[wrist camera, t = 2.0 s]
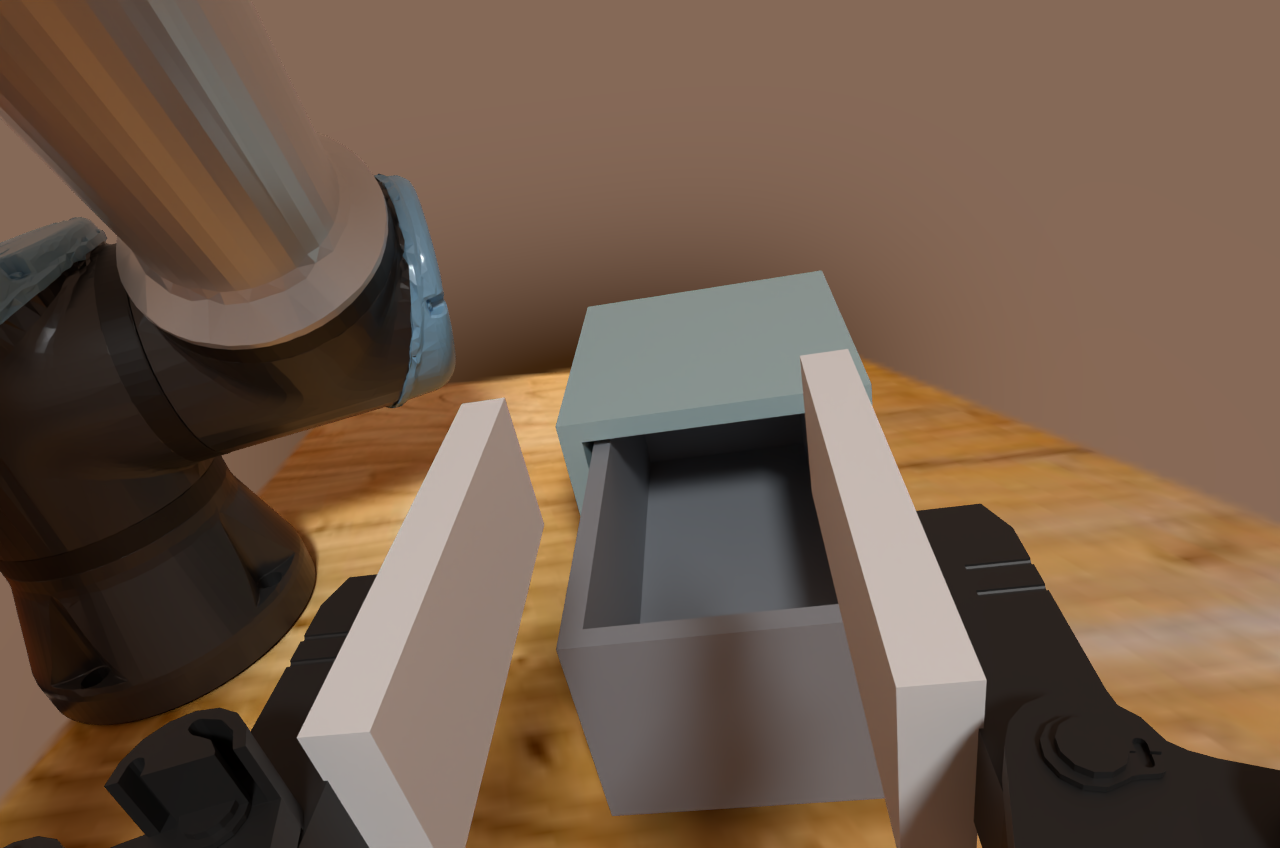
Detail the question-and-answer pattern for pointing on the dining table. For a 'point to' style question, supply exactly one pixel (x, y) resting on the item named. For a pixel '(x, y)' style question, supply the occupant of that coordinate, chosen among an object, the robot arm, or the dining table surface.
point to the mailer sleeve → (695, 361)
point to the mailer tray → (711, 626)
